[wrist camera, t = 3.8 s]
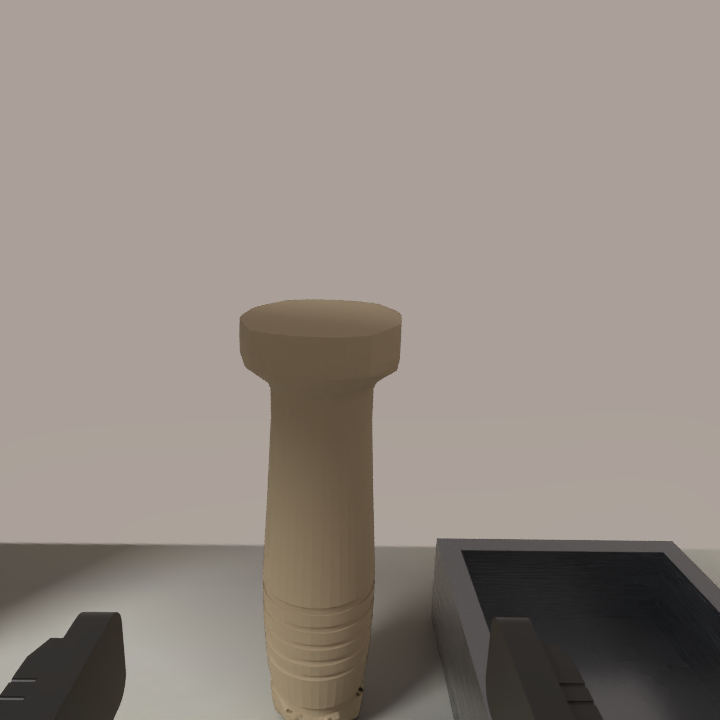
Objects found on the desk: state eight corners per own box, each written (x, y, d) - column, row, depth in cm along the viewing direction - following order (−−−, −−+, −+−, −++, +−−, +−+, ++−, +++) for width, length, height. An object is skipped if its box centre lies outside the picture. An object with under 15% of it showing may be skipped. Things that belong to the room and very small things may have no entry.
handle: (384, 653, 25) (401, 302, 21) (378, 800, 19) (401, 340, 15) (271, 645, 25) (268, 297, 21) (229, 788, 19) (215, 332, 15)
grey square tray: (487, 867, 17) (500, 756, 16) (431, 615, 27) (437, 538, 26) (851, 864, 17) (885, 755, 16) (658, 616, 28) (672, 541, 27)
